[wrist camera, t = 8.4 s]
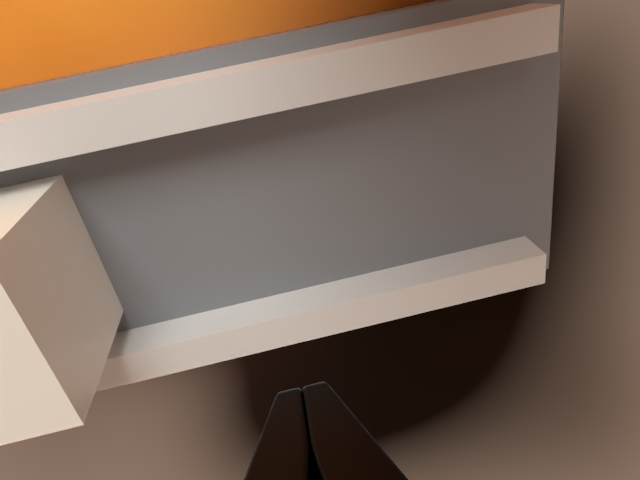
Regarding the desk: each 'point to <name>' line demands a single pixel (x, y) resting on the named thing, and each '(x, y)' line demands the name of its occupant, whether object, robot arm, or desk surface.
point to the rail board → (305, 176)
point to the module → (49, 311)
